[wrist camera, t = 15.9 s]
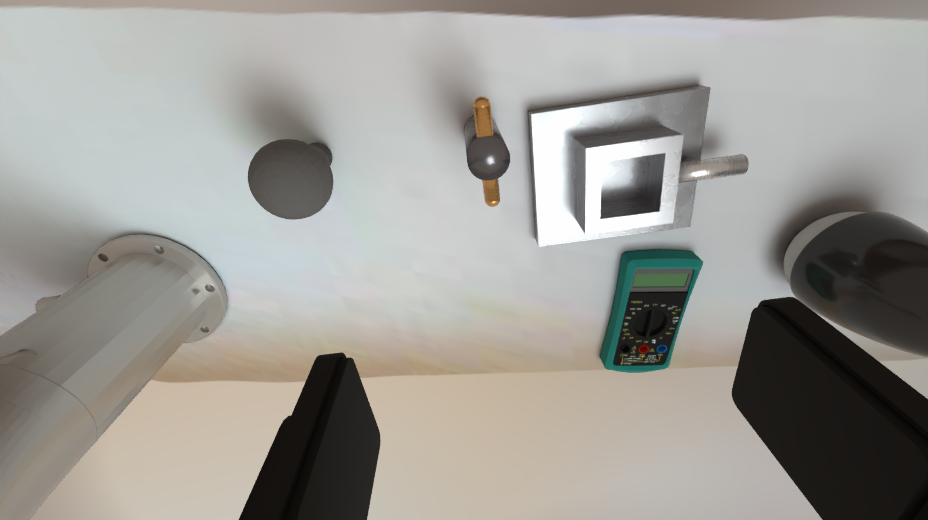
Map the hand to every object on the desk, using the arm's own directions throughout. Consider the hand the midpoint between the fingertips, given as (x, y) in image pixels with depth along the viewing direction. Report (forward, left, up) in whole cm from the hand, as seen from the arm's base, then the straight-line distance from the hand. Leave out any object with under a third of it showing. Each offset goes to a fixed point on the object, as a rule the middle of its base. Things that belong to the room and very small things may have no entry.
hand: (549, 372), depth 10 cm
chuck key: (0, 0, -28) cm, 28 cm away
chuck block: (+12, -5, -28) cm, 31 cm away
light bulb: (-14, 0, -28) cm, 32 cm away
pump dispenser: (+32, -16, -28) cm, 46 cm away
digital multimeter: (+15, -21, -29) cm, 39 cm away
